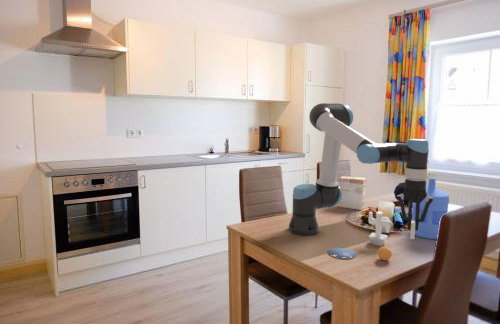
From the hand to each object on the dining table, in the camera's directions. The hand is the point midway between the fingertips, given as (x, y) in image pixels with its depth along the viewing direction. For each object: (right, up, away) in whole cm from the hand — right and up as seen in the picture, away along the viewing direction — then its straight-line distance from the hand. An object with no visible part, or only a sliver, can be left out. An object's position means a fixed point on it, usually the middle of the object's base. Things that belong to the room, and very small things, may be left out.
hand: (412, 237), depth 139 cm
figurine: (-5, -8, +23) cm, 25 cm away
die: (+3, -6, +39) cm, 40 cm away
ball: (-9, -8, +5) cm, 13 cm away
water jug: (+25, -6, +36) cm, 44 cm away
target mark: (-25, -9, +11) cm, 29 cm away
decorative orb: (+41, +2, +98) cm, 106 cm away
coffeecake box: (+1, +1, +86) cm, 86 cm away
